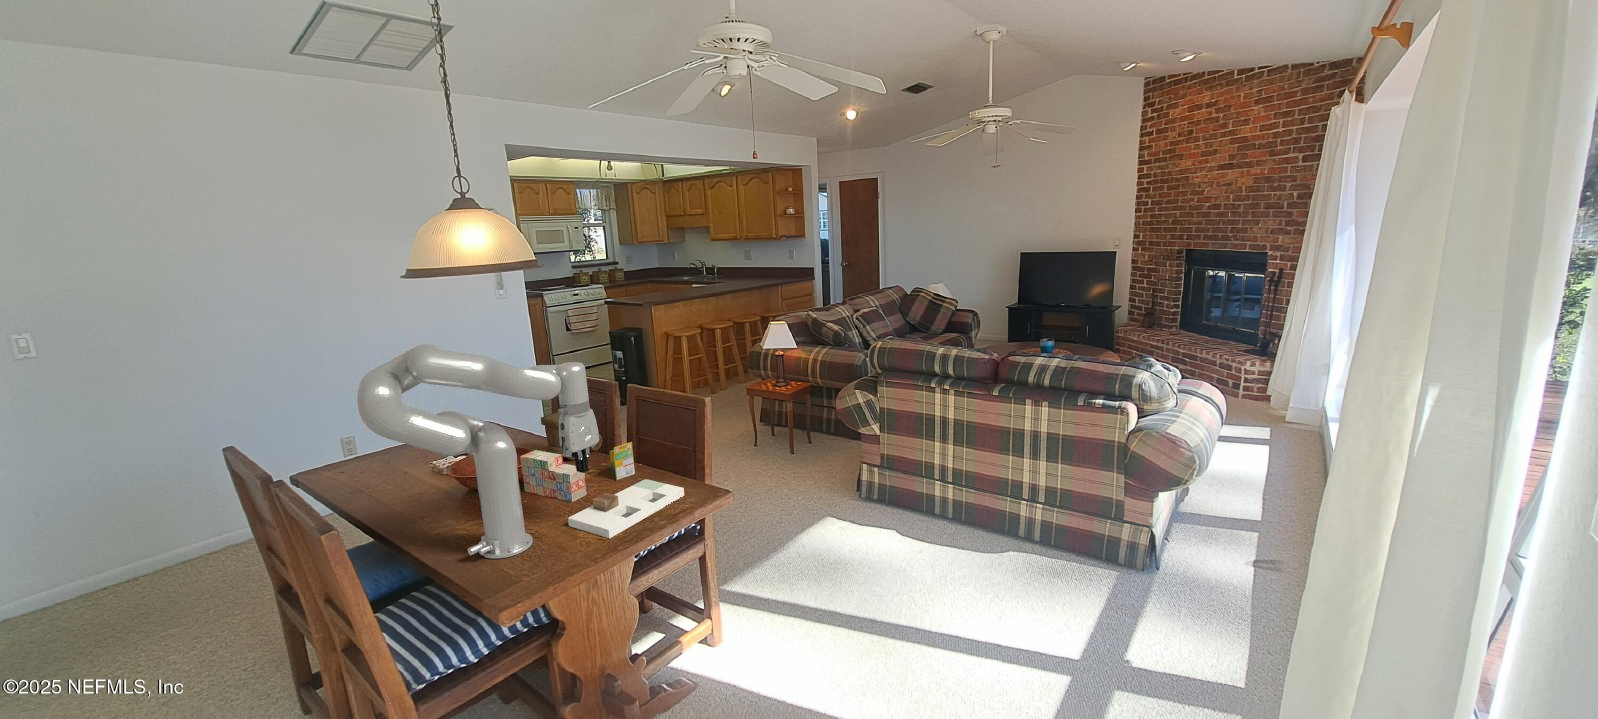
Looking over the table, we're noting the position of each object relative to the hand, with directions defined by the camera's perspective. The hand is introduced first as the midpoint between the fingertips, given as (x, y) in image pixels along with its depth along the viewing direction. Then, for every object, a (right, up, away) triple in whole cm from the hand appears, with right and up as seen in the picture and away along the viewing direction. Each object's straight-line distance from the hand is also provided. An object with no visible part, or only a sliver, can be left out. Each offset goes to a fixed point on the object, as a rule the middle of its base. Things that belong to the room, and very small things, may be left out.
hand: (582, 471), depth 173 cm
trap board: (+10, -14, +12) cm, 21 cm away
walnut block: (+4, -12, +9) cm, 16 cm away
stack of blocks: (-18, -12, +26) cm, 34 cm away
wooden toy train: (-24, -5, +62) cm, 66 cm away
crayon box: (+1, -9, +38) cm, 39 cm away
